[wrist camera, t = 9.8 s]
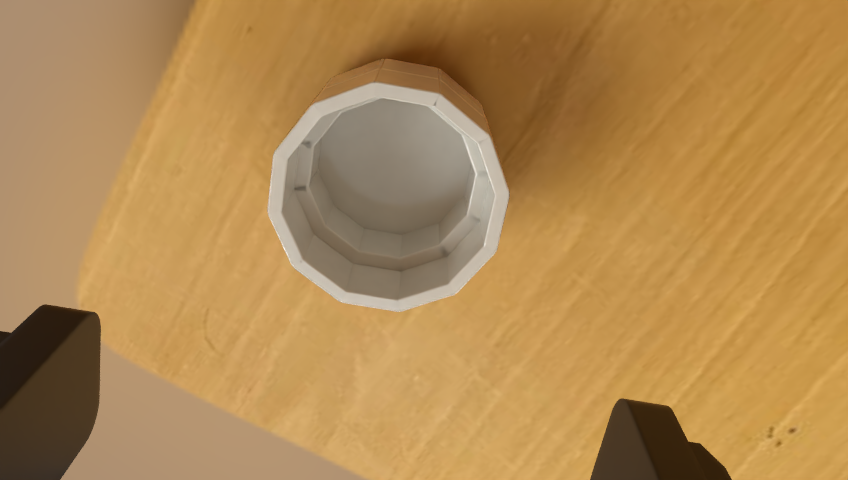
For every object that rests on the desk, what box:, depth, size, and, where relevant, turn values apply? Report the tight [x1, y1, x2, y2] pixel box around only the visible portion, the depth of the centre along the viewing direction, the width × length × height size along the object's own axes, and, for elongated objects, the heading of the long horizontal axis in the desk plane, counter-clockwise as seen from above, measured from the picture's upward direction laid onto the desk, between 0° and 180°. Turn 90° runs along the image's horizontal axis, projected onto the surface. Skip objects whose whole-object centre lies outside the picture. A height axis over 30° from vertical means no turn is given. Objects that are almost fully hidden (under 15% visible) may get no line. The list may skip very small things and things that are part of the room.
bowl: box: [267, 58, 510, 312], centre depth 22 cm, size 6×6×4 cm
